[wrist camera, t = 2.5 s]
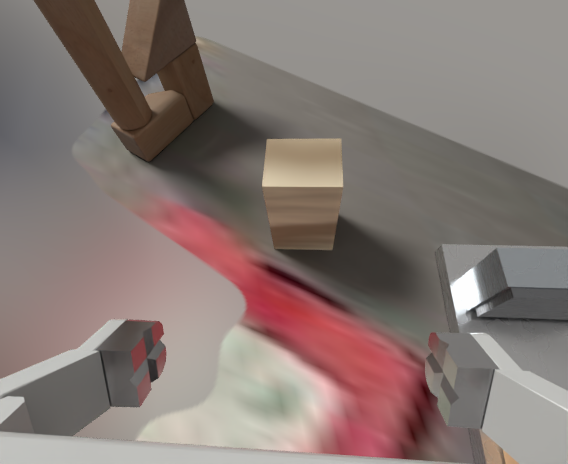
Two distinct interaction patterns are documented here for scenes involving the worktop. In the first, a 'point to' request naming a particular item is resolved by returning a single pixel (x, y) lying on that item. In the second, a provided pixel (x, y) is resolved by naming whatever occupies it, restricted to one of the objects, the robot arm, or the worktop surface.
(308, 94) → the worktop surface
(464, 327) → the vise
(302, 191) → the beech block
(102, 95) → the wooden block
